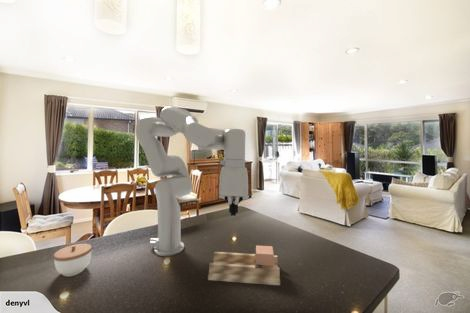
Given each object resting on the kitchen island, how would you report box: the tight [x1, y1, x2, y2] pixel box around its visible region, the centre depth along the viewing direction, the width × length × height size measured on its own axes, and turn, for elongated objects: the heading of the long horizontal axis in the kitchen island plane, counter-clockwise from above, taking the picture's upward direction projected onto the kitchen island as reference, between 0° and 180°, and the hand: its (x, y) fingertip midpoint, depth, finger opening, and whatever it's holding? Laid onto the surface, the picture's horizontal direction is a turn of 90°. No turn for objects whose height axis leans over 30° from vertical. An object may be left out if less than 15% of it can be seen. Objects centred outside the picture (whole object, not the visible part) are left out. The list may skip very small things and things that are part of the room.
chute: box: [207, 251, 281, 286], centre depth 75 cm, size 24×12×5 cm, turn 84°
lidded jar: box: [53, 243, 93, 277], centre depth 74 cm, size 11×11×9 cm
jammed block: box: [255, 245, 274, 267], centre depth 74 cm, size 6×6×7 cm
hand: (233, 214), depth 75 cm, fingers closed
